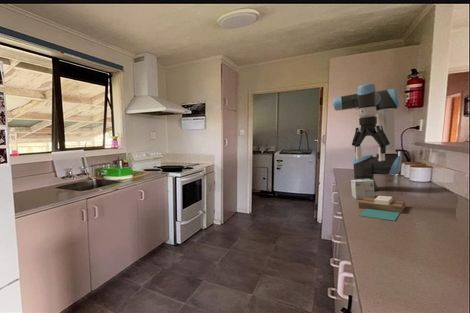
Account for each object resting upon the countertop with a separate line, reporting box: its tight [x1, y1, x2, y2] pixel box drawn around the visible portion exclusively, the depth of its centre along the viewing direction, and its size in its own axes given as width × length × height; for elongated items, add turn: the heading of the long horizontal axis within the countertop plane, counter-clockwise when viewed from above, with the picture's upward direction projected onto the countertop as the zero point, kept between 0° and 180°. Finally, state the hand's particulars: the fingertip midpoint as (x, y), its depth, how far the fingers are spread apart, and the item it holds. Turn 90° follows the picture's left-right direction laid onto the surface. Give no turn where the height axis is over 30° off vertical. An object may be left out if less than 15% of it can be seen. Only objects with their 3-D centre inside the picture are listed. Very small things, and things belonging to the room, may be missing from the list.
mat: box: [358, 209, 401, 222], centre depth 108 cm, size 12×14×1 cm
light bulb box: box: [350, 179, 376, 200], centre depth 138 cm, size 11×7×11 cm, turn 84°
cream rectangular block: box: [374, 195, 394, 205], centre depth 116 cm, size 9×6×2 cm, turn 136°
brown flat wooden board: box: [358, 197, 407, 214], centre depth 117 cm, size 12×18×3 cm, turn 46°
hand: (370, 159), depth 115 cm, fingers open, 13 cm apart
